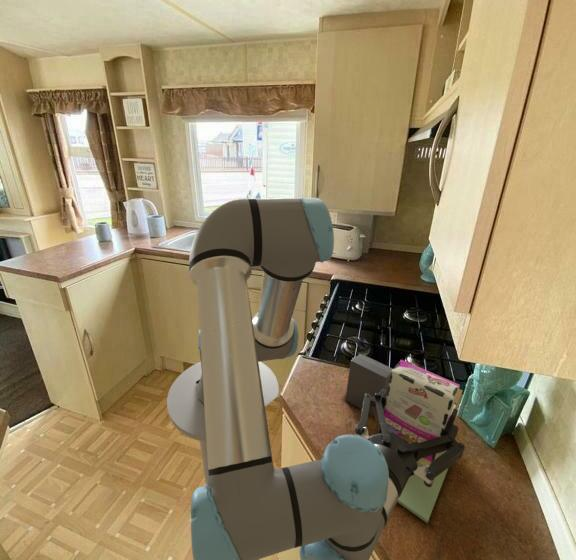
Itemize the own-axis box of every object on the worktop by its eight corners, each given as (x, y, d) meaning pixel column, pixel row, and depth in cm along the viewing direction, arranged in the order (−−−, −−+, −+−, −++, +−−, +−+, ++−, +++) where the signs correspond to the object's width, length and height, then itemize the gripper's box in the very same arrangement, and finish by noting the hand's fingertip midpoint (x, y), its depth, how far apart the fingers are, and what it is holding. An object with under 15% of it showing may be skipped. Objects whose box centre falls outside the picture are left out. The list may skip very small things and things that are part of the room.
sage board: (353, 470, 70) (354, 468, 69) (393, 410, 85) (394, 408, 85) (427, 523, 61) (428, 521, 60) (456, 445, 76) (457, 443, 76)
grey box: (345, 399, 88) (350, 360, 82) (354, 388, 92) (360, 350, 86) (378, 419, 83) (386, 378, 77) (387, 406, 86) (395, 366, 81)
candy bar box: (440, 446, 63) (461, 384, 56) (433, 464, 59) (454, 400, 53) (388, 416, 69) (401, 357, 62) (378, 431, 66) (390, 370, 59)
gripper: (312, 451, 57) (368, 385, 72) (450, 553, 43) (482, 445, 59) (315, 422, 54) (372, 359, 69) (465, 521, 40) (494, 416, 56)
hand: (423, 398), depth 64 cm, fingers closed on candy bar box, 11 cm apart
